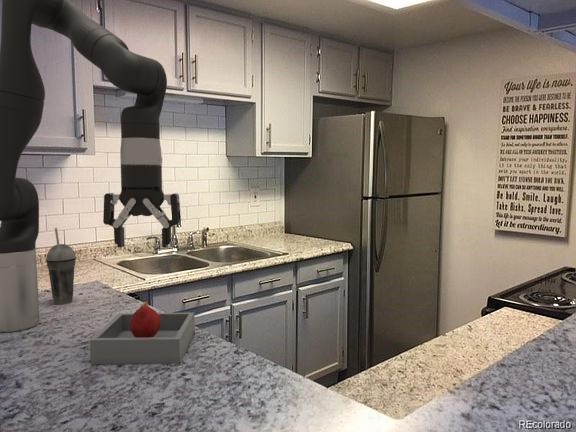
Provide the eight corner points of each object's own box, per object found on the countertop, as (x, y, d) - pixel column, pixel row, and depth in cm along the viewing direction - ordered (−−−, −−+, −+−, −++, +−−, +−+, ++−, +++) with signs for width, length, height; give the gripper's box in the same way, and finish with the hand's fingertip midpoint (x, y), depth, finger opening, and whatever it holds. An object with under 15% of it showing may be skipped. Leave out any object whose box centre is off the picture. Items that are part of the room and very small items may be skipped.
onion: (151, 348, 89) (150, 307, 88) (124, 346, 90) (123, 306, 90) (165, 338, 95) (164, 299, 94) (139, 336, 96) (138, 297, 95)
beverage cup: (84, 300, 126) (81, 226, 124) (61, 307, 120) (57, 229, 118) (64, 297, 129) (61, 225, 127) (41, 304, 123) (37, 228, 121)
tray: (90, 364, 84) (89, 340, 84) (119, 333, 100) (119, 313, 100) (180, 363, 85) (179, 339, 84) (194, 332, 101) (194, 312, 100)
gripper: (96, 162, 86) (99, 250, 87) (174, 162, 86) (176, 250, 87) (110, 163, 93) (113, 243, 95) (182, 163, 93) (183, 244, 95)
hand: (143, 246), depth 91 cm, fingers open, 8 cm apart
